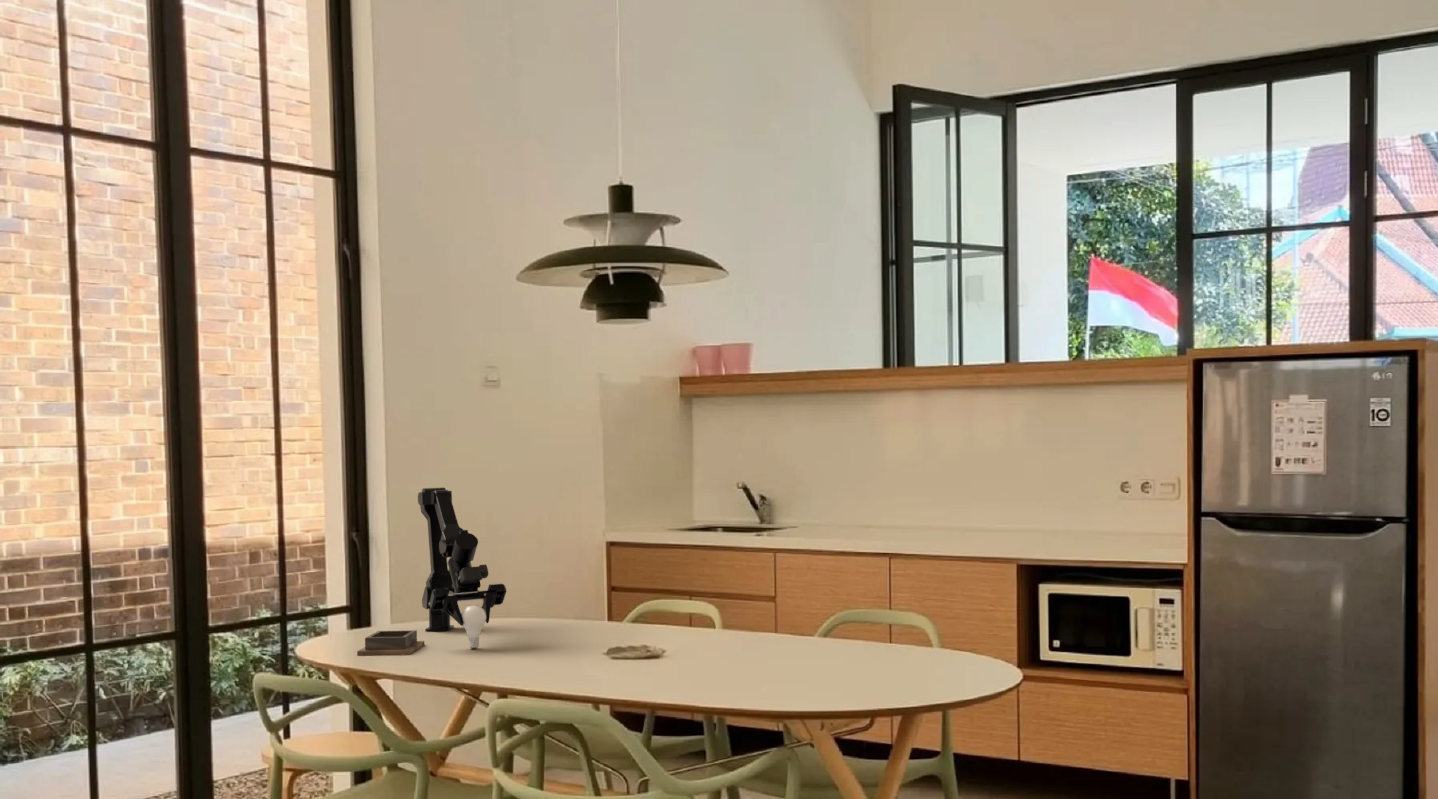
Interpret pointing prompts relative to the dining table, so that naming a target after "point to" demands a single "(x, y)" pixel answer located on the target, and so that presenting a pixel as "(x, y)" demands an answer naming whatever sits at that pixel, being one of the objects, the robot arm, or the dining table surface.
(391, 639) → the socket block
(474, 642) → the lightbulb
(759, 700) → the dining table surface
